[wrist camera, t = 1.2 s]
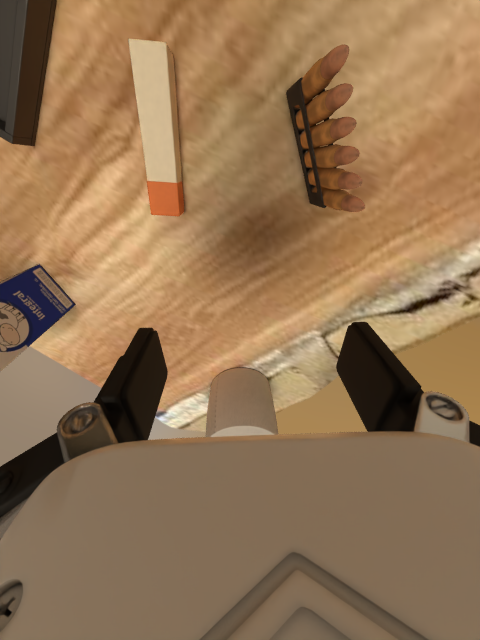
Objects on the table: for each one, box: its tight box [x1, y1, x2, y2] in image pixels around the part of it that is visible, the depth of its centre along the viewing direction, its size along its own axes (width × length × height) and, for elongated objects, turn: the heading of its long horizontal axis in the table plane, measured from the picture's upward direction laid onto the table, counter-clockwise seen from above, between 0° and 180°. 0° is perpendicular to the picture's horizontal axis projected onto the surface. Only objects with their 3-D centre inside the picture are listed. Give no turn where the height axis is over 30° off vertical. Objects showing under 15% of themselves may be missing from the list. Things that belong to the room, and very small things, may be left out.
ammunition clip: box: [286, 45, 365, 212], centre depth 20 cm, size 11×2×12 cm, turn 22°
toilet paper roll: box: [206, 368, 278, 437], centre depth 42 cm, size 12×12×12 cm
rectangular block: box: [128, 39, 184, 216], centre depth 23 cm, size 13×3×3 cm, turn 177°
